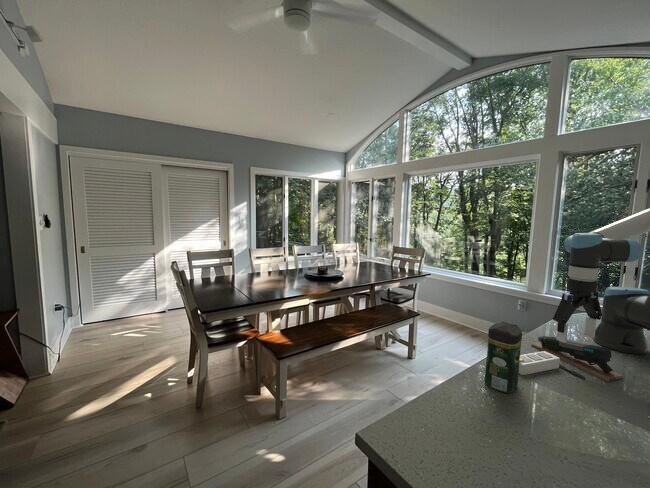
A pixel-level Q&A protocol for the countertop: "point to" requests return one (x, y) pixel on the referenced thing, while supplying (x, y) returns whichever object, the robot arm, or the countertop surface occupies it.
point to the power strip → (541, 363)
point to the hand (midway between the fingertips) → (575, 338)
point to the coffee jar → (503, 357)
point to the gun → (580, 351)
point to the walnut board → (580, 363)
